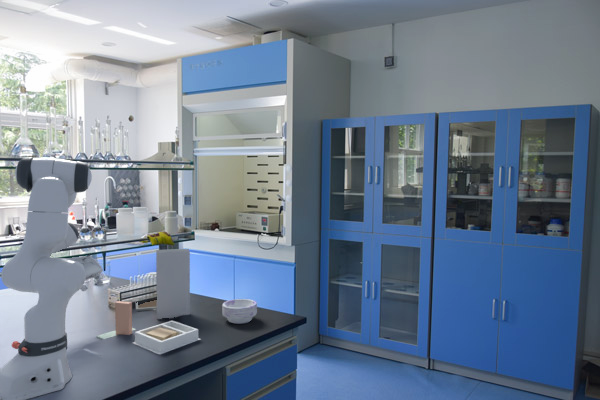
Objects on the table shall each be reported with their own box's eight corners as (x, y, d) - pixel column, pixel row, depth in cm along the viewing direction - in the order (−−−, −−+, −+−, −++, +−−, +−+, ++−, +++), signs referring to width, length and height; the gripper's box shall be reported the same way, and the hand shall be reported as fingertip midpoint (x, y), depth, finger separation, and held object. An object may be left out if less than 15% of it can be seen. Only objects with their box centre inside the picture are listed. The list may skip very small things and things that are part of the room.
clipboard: (173, 290, 245) (179, 307, 217) (173, 293, 245) (179, 310, 217) (135, 293, 238) (136, 310, 210) (135, 296, 238) (136, 314, 210)
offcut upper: (163, 343, 167) (163, 337, 167) (145, 338, 171) (145, 333, 171) (177, 337, 173) (177, 331, 173) (159, 332, 178) (159, 327, 177)
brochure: (188, 312, 211) (188, 248, 209) (189, 316, 206) (189, 250, 204) (156, 315, 207) (156, 250, 205) (156, 319, 202) (156, 252, 199)
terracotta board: (129, 336, 180) (128, 303, 179) (115, 334, 181) (115, 302, 180) (132, 334, 182) (131, 302, 181) (118, 332, 183) (118, 301, 182)
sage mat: (116, 345, 171) (116, 344, 171) (96, 337, 180) (96, 335, 180) (148, 335, 182) (148, 334, 182) (128, 327, 191) (128, 326, 191)
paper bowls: (226, 314, 210) (226, 297, 210) (259, 315, 209) (259, 298, 208) (218, 325, 195) (218, 307, 194) (253, 327, 194) (253, 308, 193)
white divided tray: (159, 357, 162) (159, 343, 162) (132, 345, 172) (131, 332, 172) (201, 341, 177) (201, 328, 177) (173, 331, 187) (173, 319, 187)
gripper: (57, 261, 174) (80, 288, 173) (92, 251, 194) (113, 276, 192) (47, 272, 175) (70, 299, 174) (83, 261, 195) (104, 285, 194)
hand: (93, 287), depth 183 cm, fingers open, 8 cm apart
